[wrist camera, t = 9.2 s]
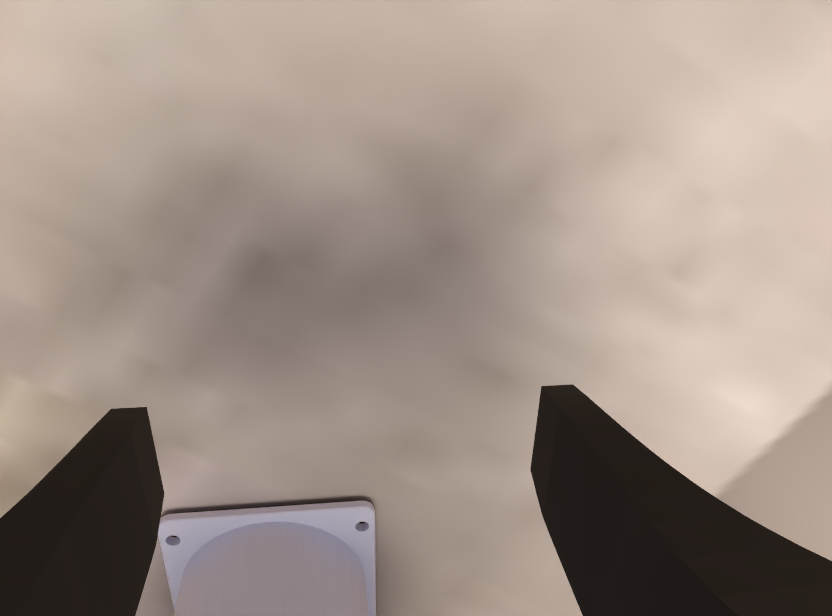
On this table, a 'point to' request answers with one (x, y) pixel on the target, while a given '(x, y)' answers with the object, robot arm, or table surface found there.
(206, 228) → the table surface
